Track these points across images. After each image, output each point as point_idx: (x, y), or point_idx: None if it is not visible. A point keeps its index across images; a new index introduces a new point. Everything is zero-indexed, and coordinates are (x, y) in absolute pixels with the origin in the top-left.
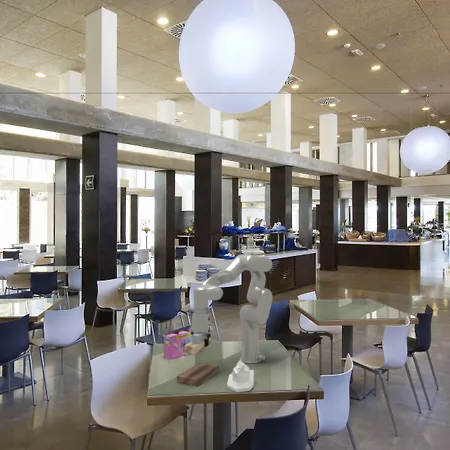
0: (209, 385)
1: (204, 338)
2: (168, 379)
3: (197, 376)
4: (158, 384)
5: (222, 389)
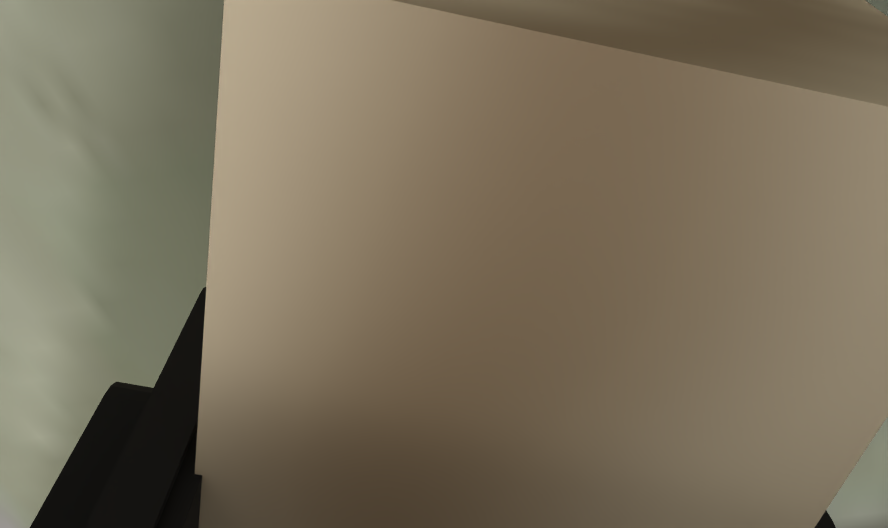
0: None
1: (552, 355)
2: (53, 324)
3: None
4: (44, 471)
5: (883, 477)
